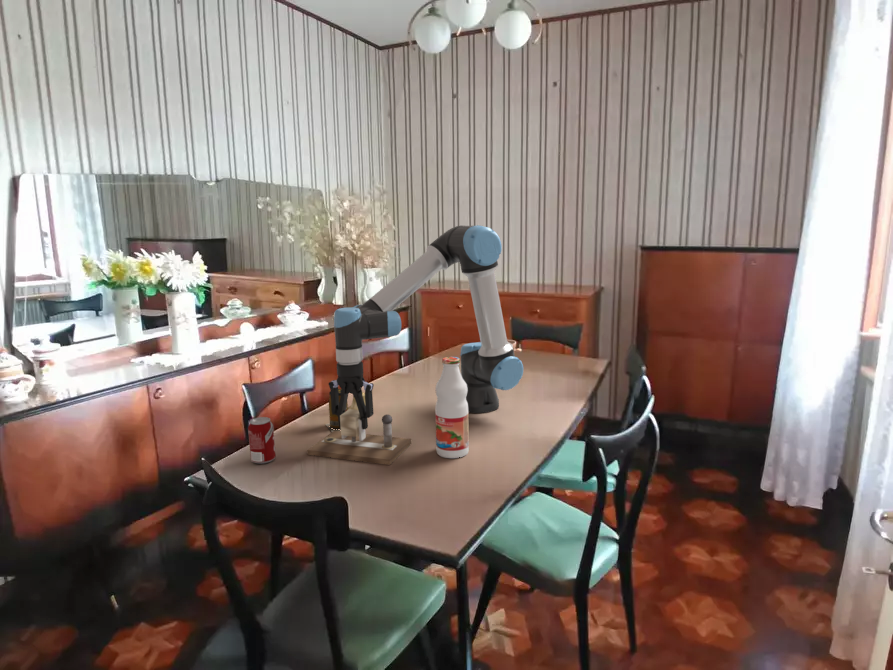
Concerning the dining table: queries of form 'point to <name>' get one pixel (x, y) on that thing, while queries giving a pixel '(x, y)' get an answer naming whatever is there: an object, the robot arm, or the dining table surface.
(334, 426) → the condiment
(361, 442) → the hole plate
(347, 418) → the leg
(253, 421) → the soda can
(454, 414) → the fruit juice
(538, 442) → the dining table surface
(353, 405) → the hand bell
